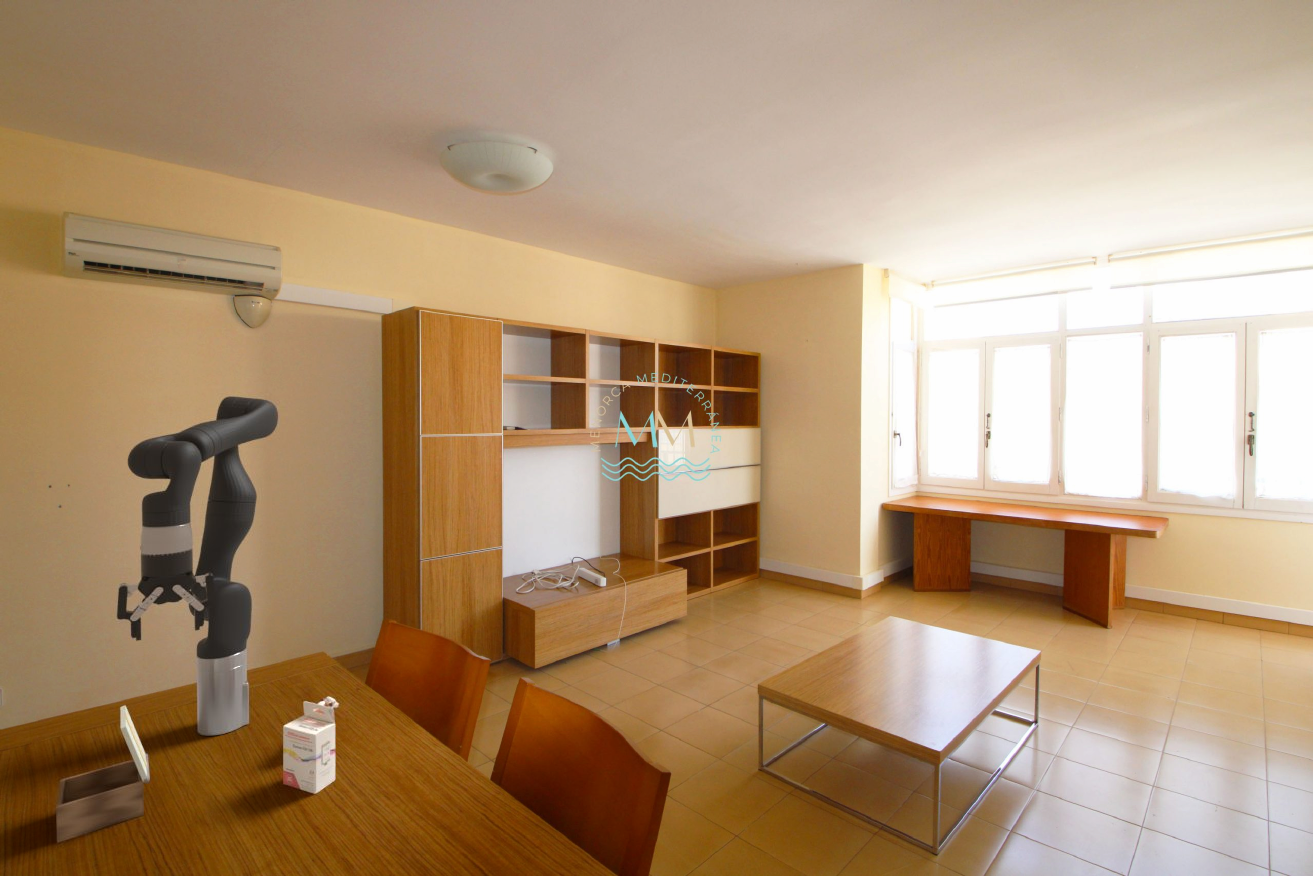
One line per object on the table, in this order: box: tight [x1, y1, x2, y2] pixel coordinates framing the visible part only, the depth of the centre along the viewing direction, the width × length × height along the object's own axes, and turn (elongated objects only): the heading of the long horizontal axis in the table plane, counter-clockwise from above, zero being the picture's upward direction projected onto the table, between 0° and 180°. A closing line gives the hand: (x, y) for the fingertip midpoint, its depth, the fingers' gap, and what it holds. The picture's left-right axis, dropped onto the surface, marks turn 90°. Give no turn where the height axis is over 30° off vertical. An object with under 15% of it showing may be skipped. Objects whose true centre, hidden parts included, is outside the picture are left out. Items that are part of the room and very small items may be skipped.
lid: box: [119, 704, 151, 784], centre depth 111 cm, size 12×10×1 cm
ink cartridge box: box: [282, 700, 336, 795], centre depth 118 cm, size 9×5×15 cm, turn 71°
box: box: [55, 759, 145, 844], centre depth 108 cm, size 11×10×6 cm
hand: (168, 634), depth 114 cm, fingers open, 8 cm apart
